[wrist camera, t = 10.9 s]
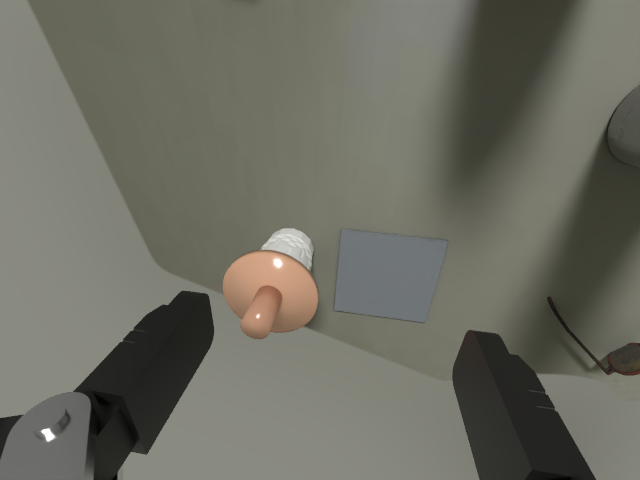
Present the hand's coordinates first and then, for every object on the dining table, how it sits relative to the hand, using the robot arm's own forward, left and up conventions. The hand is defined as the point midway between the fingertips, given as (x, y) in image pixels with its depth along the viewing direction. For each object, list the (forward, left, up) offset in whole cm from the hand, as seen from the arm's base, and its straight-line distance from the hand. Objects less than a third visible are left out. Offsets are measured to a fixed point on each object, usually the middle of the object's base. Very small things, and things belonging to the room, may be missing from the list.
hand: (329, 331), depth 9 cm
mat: (-6, +18, -30) cm, 36 cm away
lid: (+8, +15, -20) cm, 26 cm away
